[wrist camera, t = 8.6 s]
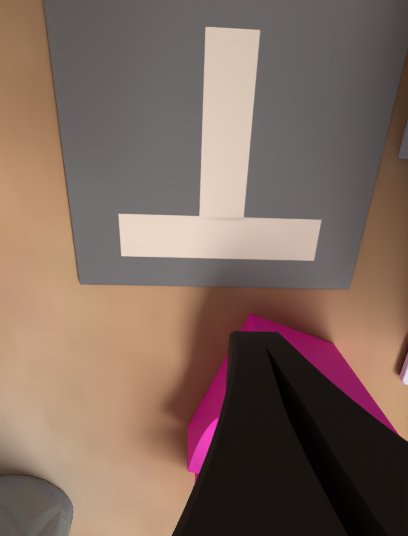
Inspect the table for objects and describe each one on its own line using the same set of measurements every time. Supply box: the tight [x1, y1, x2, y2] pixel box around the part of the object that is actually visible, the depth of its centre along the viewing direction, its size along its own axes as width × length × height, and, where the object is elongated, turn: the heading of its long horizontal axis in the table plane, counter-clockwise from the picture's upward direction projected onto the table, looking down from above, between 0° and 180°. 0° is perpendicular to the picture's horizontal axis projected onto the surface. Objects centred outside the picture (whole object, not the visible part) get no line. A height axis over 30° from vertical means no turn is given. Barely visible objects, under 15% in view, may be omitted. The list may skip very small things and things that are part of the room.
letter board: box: [43, 0, 408, 289], centre depth 15 cm, size 16×14×1 cm
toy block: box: [187, 314, 399, 482], centre depth 19 cm, size 15×6×8 cm, turn 157°
